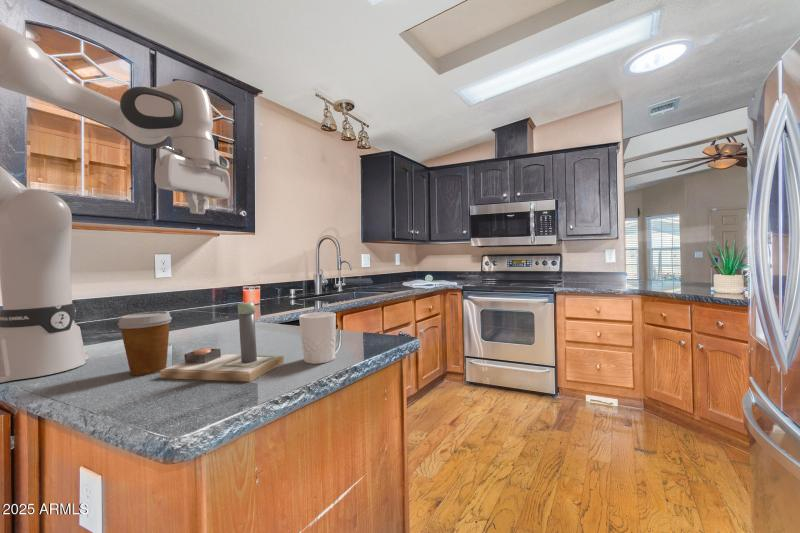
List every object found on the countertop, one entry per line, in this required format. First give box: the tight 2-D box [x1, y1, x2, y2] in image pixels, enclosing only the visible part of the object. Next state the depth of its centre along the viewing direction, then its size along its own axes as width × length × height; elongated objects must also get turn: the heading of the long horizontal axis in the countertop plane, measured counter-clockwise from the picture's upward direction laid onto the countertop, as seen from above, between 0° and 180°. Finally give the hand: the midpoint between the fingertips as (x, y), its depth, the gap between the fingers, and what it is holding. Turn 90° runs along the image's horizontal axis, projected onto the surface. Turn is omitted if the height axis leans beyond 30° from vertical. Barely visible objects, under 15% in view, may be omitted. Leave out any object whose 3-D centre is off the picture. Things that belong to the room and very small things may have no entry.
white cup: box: [298, 311, 337, 365], centre depth 82 cm, size 8×8×10 cm
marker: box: [237, 301, 258, 363], centre depth 77 cm, size 3×3×12 cm
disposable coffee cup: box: [117, 310, 173, 376], centre depth 79 cm, size 10×10×12 cm
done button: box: [193, 348, 212, 354], centre depth 79 cm, size 3×3×2 cm
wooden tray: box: [159, 348, 285, 382], centre depth 77 cm, size 20×12×4 cm, turn 77°
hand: (197, 213), depth 89 cm, fingers closed
